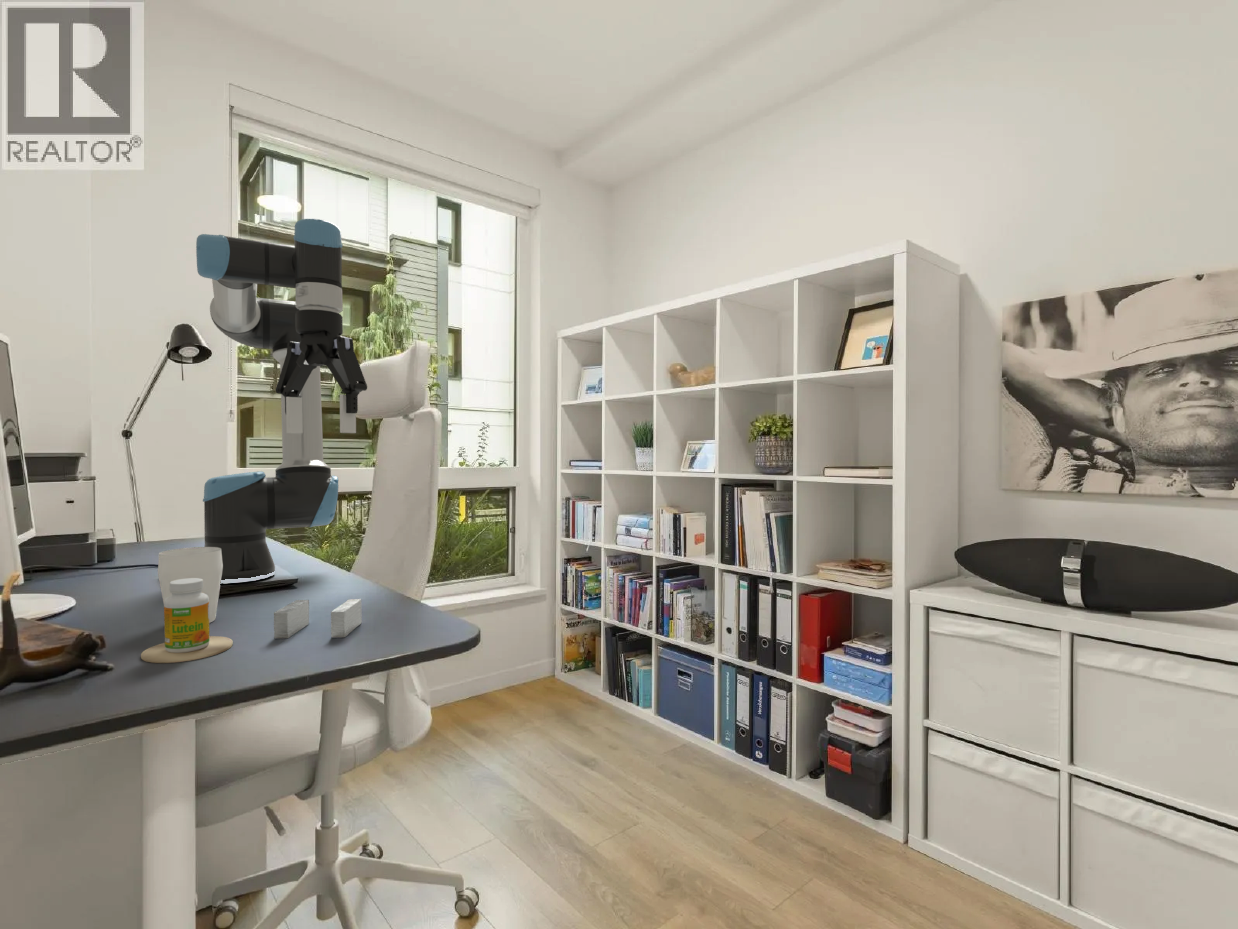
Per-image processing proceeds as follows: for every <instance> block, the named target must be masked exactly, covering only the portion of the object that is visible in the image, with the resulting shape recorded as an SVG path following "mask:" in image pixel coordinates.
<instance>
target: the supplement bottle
mask: <svg viewBox="0 0 1238 929" xmlns="http://www.w3.org/2000/svg"><path fill="white" fill-rule="evenodd" d="M202 589H203V579H200V578H187V579H179V580H174V581H171V582H170V593H172V596H170V597H168V598H167V599H166V600H165V602H163V617H164V618H163V619H164V621H163V622H164V624H163V625H164V643H165V650H166V651H168V652H172V653H184V652H191V651H195V650H199V649H202V648H204V647H206V646H208V645H209V636H210V623H209V597H208V595H206V594H205V593H202V592H201V590H202Z"/></svg>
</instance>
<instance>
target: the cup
mask: <svg viewBox="0 0 1238 929" xmlns="http://www.w3.org/2000/svg"><path fill="white" fill-rule="evenodd" d="M222 569H223V562H222V552H221V548H218V547H204V546H194V547H181V548H174V549H173V548H172V549H168V550H167V549H166V550H163V551H160V552H159V553H158V566H157V576H158V580H159V585H160V590H161V597H162V601H163V603H164V602H165V600H166V599H167V598H168V597H170V596H172V593H170V582H171V581H174V580H179V579H187V578H200V579H203V589H202V590H201V592H202V593H205V594H206V595H208V597H209V624H210V623H212V622H214V621H216V617H217V611H218V603H219V597H220V591H221V590H220V589H221V585H220V583H221V576H222Z"/></svg>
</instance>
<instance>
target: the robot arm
mask: <svg viewBox="0 0 1238 929" xmlns="http://www.w3.org/2000/svg"><path fill="white" fill-rule="evenodd" d="M293 240H294V242H293V244H294V245H290V244H281V243H274V242H267V241H262V240H261V241H259V240H253V239H248V238H247V239H246V238H241V237H235V236H233V237H232V236H226V235H223V234H206V233H201V234H199V235H198V236H197V237H196V241H195V242H196V245H195V246H196V247H195V248H196V249H195V253H196V255H195V256H196V271H197V273H198V275H199V276H200V277H202V278H204V279H205V278H206V279H209V280H211V282H212V289H213V290H212V291H213V298H212V300H211V302H210V304H209V313H210V317H211V318H210V319H211V320H212V322H213V324H214V326H215V327H216V328H217V329H218V330H219V331H220V332H221V333H223V334H224V335H225V336H226V337H227V338H229V339H231V340H233V341H235V342H237V343H239V344H241V345H244V346H248V347H250V348H256V349H263V350H265V349H266V350H271V352H272V358H273V359H274V360H275V361H277V362H278V363H279V368H280V370H279V371H280V374H279V377H278V381H277V383H276V388H275V392H276V394H280V403H281V404H280V408H281V410H280V411H281V413H280V414H281V442H282V443H281V444H282V445H281V448H282V449H281V450H282V463H280V465H278V467H277V468H275V477H274V476H273V477H270V476H269V477H266V473H265V472H264V471H262V470H261V471H258V470H257V471H251V472H250V471H249V472H248V471H247V472H241V473H235V474H234V473H233V474H226V475H220V476H215V477H211V478H208V479H207V480H206V482H205V484H204V486H203V487H204V488H203V489H204V490H203V498H202V502H204V503H203V504H204V506H203V508H204V509H203V510H204V514H203V515H204V516H203V517H204V518H203V519H204V524H203V525H204V546H203V547H218V548H221V552H222V562H223V569H222V576H221V580H225V579H238V578H251V577H256V576H260V575H267V574H269V573H272V572H274V571H275V572H276V564H275V561H274V560H273V557H272V556H273V555H271V551H270V548H269V547H268V544H267V535H266V530H272V529H287V528H288V529H290V528H291V529H292V528H305V527H306V528H312V527H319V526H327V525H330V523H332V522H333V520H334V518H335V515H336V514H335V513H336V509H337V504H338V498H339V477H338V476H336V475H332V472H331V471H332V470H331V466H330V465H328V464H326V462H325V460H324V444H323V443H324V440H323V439H324V438H323V411H322V387H321V386H322V384H321V382H322V381H321V367H323V366H326V367H327V369H329V371H330V373H331V375H333V378H334V380H336V382H337V384H338V386H339V387H340V389H341V391H340V392H339V393H340V394H339V433H341V434H356V433H357V414H358V411H359V409H358V408H359V407H358V406H359V405H358V396H359V395H360V393H361V392H363V391H367V390H368V384H367V381H366V378H365V377H364V376H365V375H364V374H363V371H362V368H361V366H360V363H359V361H358V358H357V355H356V353H355V349H354V339H353V338H352V337H346V336H342V335H343V333H344V332H343V331H344V329H343V328H344V325H343V323H344V322H343V321H344V320H343V317H344V316H342V314H340V313H341V312H343V311H344V310H343V309H344V307H343V304H344V303H343V285H342V283H343V282H342V280H343V279H342V278H343V277H342V274H343V273H342V272H343V271H342V268H343V267H342V265H343V261H342V259H343V258H342V256H343V247H344V245H343V243H342V231H341V228H340V227H339V226H338V225H337V224H335V223H333V222H331V221H327V220H325V219H318V218H303V219H299V220H298V221H296V222H295V224H294V234H293ZM258 285H266V286H274V287H282V288H283V287H284V288H291V289H292V288H293V289H295V301H294V300H285V299H284V300H283V299H275V298H274V299H273V298H263V297H258V296H257V295H258V294H257V293H258V292H257V291H258Z"/></svg>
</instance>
